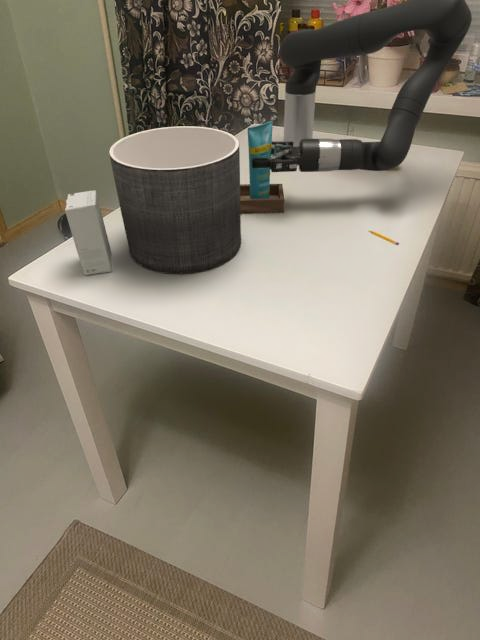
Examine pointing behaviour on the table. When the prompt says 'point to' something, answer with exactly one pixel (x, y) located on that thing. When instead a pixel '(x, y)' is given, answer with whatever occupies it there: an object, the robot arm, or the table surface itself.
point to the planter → (179, 197)
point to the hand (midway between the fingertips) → (251, 156)
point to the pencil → (384, 237)
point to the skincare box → (89, 232)
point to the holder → (262, 200)
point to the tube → (259, 149)
